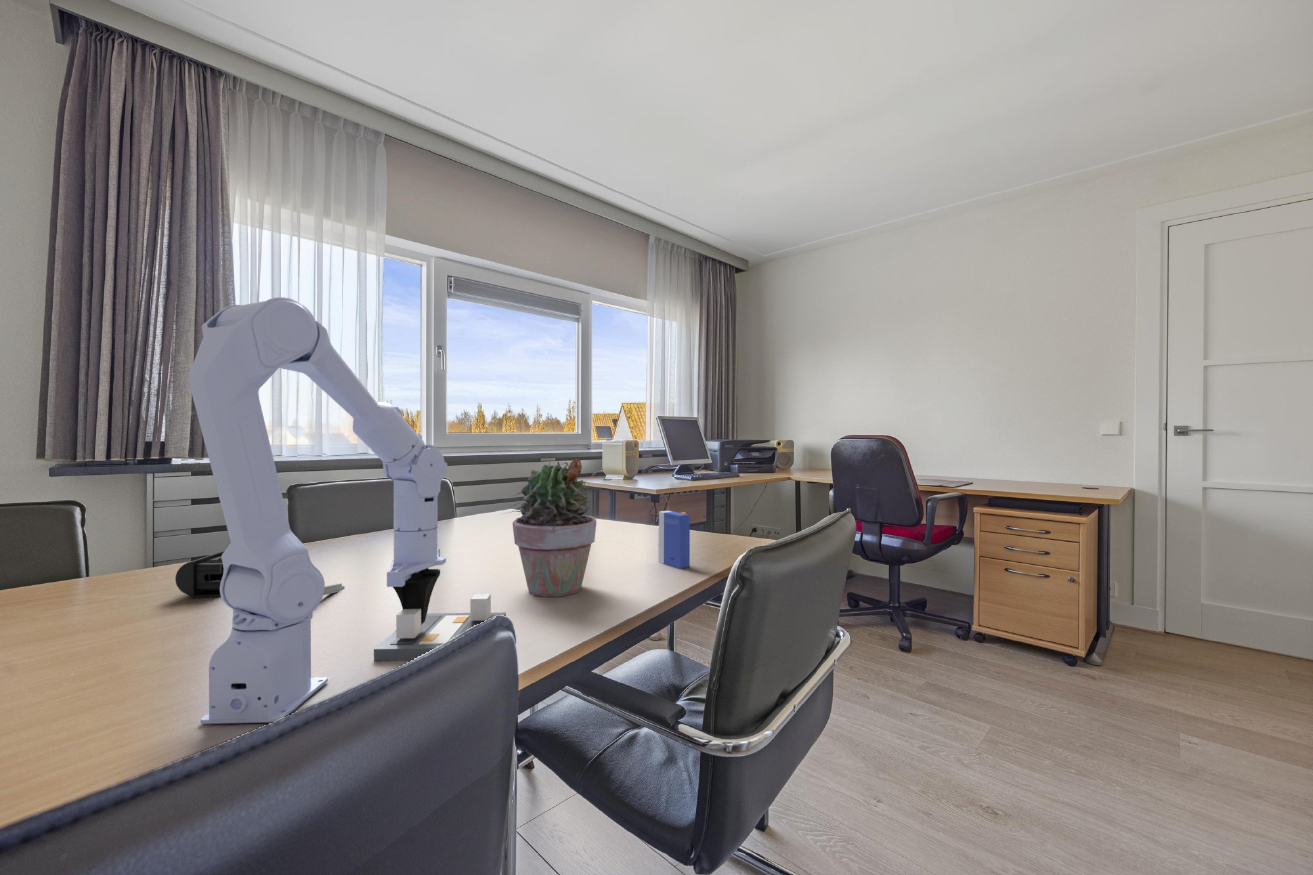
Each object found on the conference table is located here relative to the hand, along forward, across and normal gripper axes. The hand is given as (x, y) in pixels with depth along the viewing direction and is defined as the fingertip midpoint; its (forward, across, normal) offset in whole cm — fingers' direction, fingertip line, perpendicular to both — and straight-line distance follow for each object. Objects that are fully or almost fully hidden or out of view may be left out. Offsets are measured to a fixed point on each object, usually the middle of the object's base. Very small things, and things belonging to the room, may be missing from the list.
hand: (415, 623), depth 79 cm
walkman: (+3, +44, -41) cm, 60 cm away
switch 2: (+1, +4, -8) cm, 9 cm away
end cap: (+3, +27, +46) cm, 54 cm away
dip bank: (+3, +1, -4) cm, 5 cm away
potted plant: (+3, +26, -16) cm, 30 cm away
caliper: (+3, +18, +23) cm, 30 cm away
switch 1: (+1, -3, 0) cm, 3 cm away
